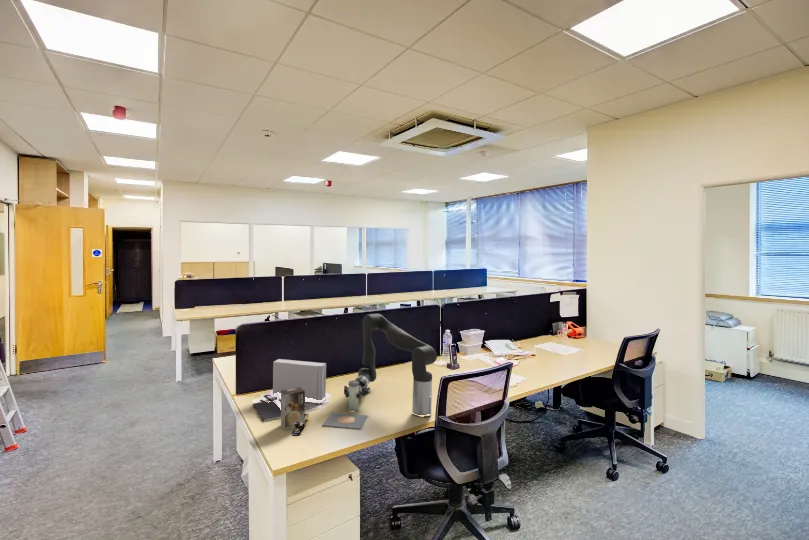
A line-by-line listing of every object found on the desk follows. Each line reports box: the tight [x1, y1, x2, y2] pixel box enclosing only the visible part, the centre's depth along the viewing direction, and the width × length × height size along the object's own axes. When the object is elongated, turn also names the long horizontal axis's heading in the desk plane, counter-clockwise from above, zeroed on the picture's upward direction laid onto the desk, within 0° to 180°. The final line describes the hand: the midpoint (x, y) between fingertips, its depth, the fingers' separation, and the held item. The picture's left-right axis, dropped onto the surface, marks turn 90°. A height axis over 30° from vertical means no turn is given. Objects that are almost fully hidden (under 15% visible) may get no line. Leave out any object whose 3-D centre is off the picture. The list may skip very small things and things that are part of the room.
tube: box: [347, 380, 359, 412], centre depth 190 cm, size 5×5×14 cm
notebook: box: [252, 401, 281, 422], centre depth 186 cm, size 13×2×21 cm
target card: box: [321, 411, 369, 430], centre depth 177 cm, size 18×14×1 cm
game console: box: [272, 358, 327, 400], centre depth 200 cm, size 6×27×20 cm, turn 78°
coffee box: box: [280, 387, 306, 431], centre depth 170 cm, size 9×6×16 cm
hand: (352, 396), depth 187 cm, fingers closed on tube, 4 cm apart
